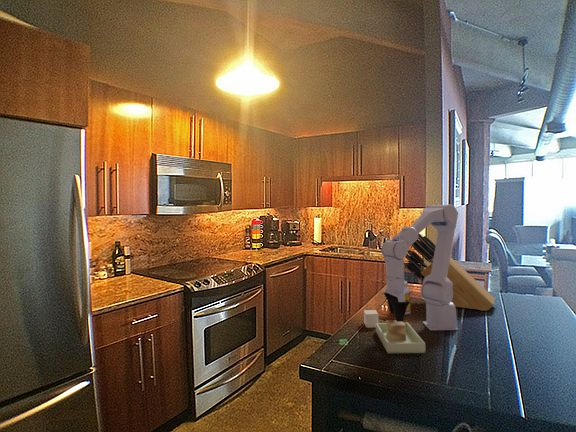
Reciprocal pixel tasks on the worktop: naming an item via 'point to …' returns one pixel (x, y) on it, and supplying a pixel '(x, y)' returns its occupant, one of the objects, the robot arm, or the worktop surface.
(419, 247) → the knife block
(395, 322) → the oak block
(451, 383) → the worktop surface
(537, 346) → the worktop surface
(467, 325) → the worktop surface
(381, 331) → the tote tray
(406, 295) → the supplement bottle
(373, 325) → the cream box
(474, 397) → the worktop surface
